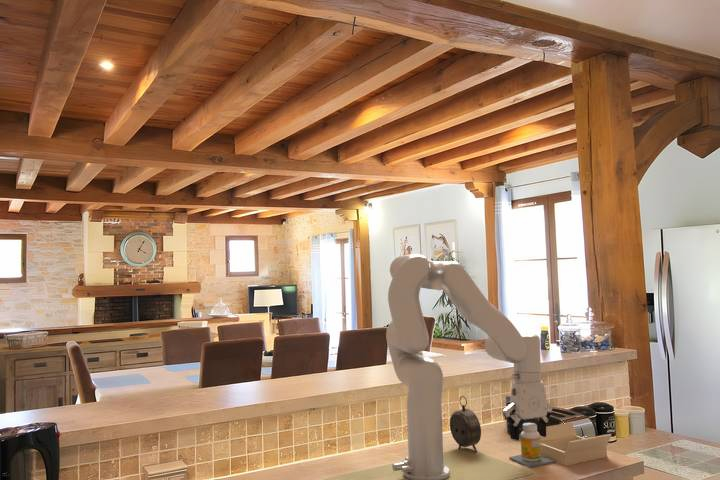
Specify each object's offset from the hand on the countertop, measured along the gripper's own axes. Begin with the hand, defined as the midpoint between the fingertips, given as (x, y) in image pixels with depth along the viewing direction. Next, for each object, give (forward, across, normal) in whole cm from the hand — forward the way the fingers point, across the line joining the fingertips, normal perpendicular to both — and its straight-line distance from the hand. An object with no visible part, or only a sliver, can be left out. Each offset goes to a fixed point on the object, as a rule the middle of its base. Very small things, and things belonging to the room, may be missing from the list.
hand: (528, 437), depth 169 cm
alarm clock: (+7, -9, +19) cm, 22 cm away
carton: (+6, +14, -2) cm, 15 cm away
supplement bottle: (+6, +1, 0) cm, 6 cm away
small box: (+6, +19, +29) cm, 35 cm away
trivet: (+7, +1, 0) cm, 7 cm away
